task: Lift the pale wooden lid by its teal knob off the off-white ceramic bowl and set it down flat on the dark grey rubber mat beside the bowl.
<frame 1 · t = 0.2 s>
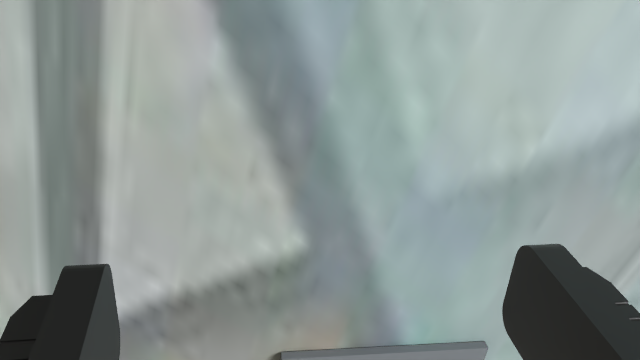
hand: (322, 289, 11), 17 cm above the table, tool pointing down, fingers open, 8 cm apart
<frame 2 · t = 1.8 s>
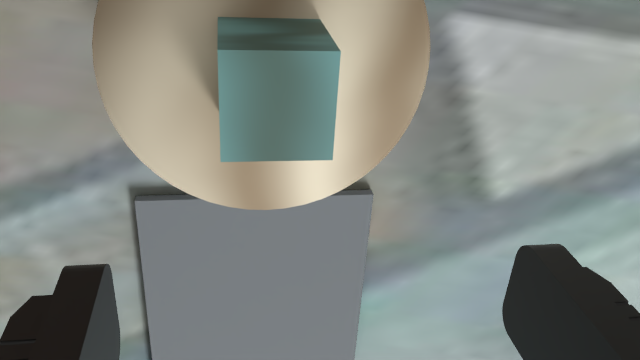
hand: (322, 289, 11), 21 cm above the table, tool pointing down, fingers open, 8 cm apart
lid: (266, 58, 25), point 6 cm above the table, touching bowl
mat: (256, 285, 38), on the table
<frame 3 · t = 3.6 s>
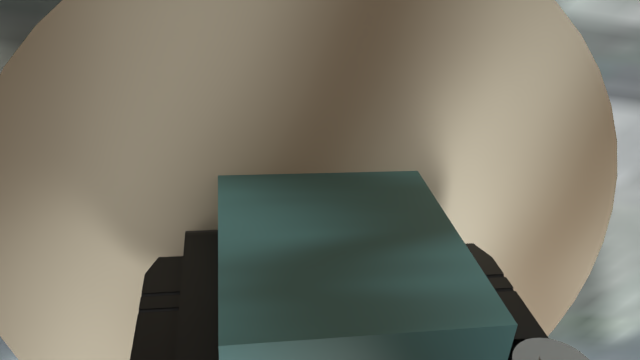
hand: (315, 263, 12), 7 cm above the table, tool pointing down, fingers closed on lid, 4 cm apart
lid: (307, 225, 13), point 6 cm above the table, touching bowl, gripper
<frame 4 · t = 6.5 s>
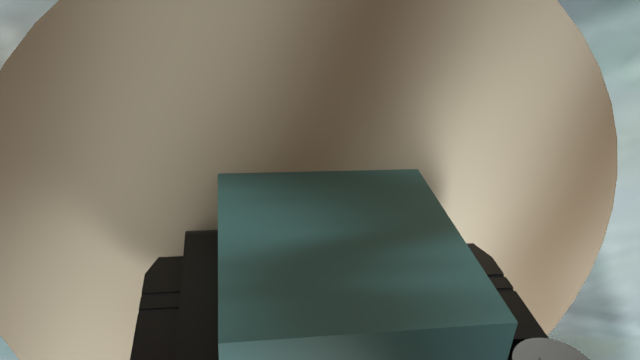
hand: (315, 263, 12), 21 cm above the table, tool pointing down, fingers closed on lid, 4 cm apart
lid: (307, 223, 13), point 20 cm above the table, touching gripper
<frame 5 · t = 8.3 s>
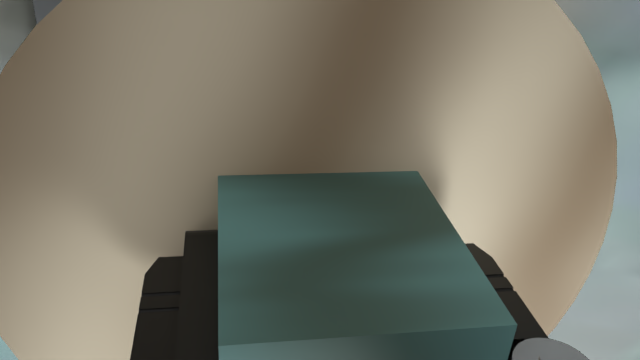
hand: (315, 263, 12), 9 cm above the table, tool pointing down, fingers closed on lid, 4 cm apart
lid: (307, 225, 13), point 7 cm above the table, touching gripper
mat: (276, 109, 20), on the table
when the fingers open (3 cm above the table, at t = 9.7 s): lid drops 1 cm, resting on mat.
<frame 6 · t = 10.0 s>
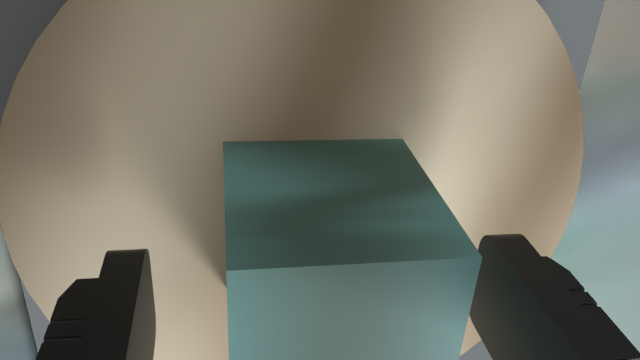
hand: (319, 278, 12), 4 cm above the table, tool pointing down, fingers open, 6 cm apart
lid: (304, 191, 15), point 1 cm above the table, touching mat
mat: (295, 182, 15), on the table
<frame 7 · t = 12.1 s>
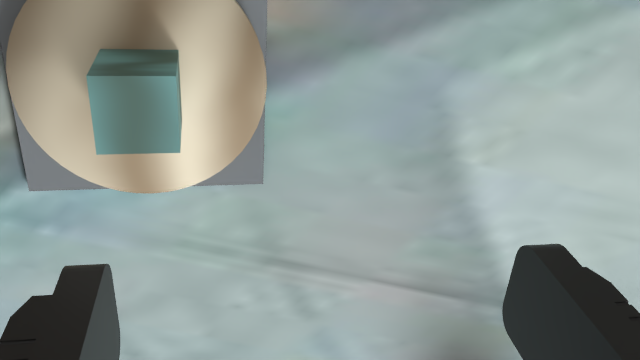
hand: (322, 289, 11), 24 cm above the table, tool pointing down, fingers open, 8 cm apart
lid: (144, 78, 33), point 1 cm above the table, touching mat
mat: (142, 75, 33), on the table
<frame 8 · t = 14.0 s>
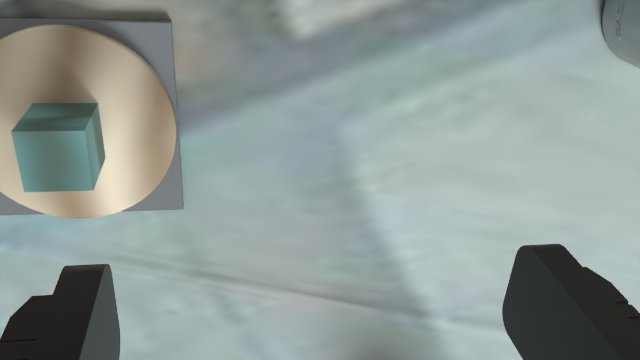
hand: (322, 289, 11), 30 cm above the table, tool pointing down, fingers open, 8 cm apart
lid: (74, 124, 39), point 1 cm above the table, touching mat
mat: (73, 121, 40), on the table
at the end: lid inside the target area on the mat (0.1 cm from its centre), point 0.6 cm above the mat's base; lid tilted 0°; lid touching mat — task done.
